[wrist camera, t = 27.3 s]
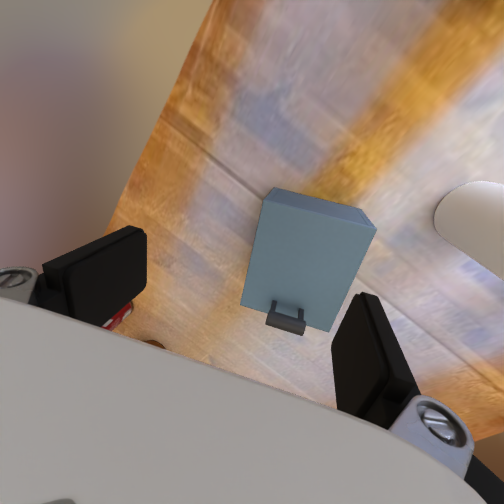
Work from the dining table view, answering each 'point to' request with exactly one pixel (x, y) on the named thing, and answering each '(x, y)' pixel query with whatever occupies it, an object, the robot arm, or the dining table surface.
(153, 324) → the dining table surface
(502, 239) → the alcohol
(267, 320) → the lid
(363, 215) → the chest
